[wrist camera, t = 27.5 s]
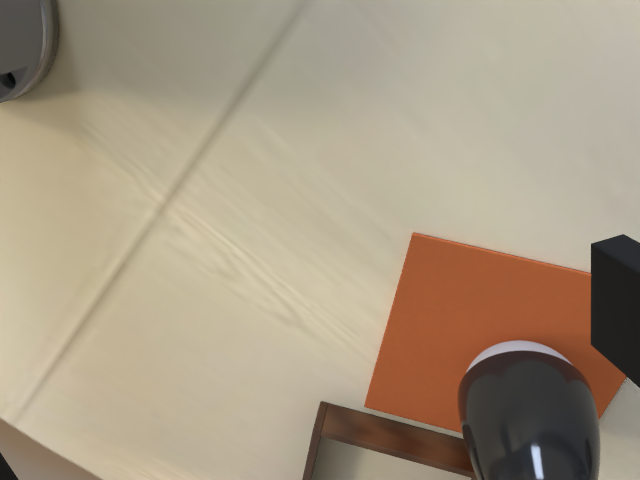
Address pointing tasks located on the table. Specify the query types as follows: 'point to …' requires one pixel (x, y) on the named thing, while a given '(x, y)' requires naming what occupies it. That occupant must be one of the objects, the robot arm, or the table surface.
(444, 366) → the mat
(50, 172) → the table surface
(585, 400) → the pump dispenser
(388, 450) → the brown wooden square frame
